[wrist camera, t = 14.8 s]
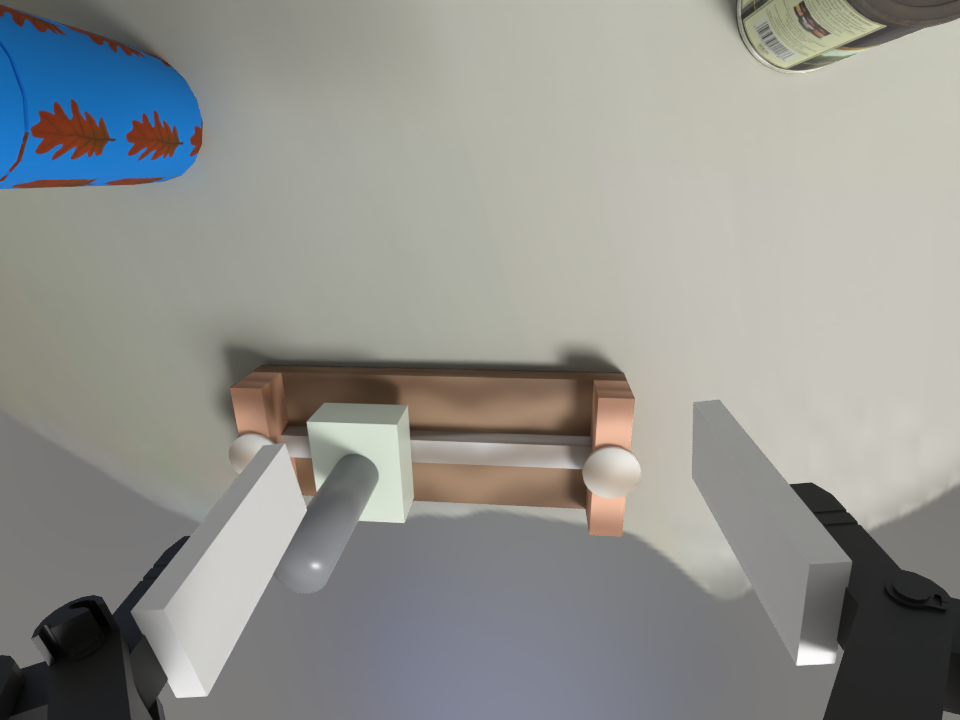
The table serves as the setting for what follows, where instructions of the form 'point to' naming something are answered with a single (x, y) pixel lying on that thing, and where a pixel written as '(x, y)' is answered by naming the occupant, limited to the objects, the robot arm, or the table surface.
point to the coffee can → (831, 28)
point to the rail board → (466, 431)
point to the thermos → (88, 109)
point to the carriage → (349, 485)
